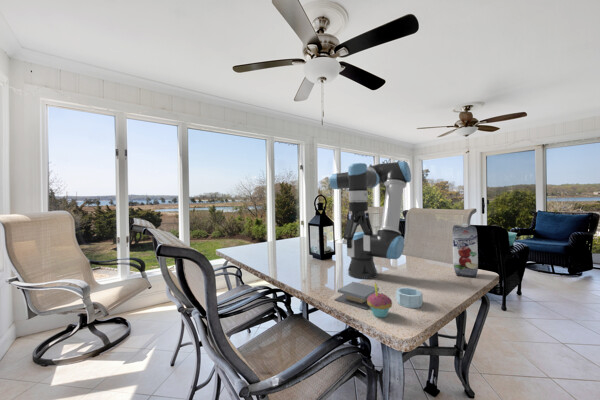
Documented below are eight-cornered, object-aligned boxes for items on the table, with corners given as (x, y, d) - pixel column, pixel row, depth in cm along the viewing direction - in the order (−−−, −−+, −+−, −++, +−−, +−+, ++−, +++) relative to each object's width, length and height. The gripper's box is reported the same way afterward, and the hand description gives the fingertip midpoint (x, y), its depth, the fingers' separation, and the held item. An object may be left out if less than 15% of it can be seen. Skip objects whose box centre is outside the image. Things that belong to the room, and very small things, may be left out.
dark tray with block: (334, 300, 102) (334, 292, 102) (352, 290, 113) (352, 283, 112) (366, 309, 93) (365, 301, 93) (382, 298, 103) (382, 290, 103)
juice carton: (452, 271, 137) (451, 222, 137) (476, 273, 132) (475, 222, 132) (454, 276, 129) (453, 223, 129) (478, 278, 125) (477, 224, 124)
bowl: (393, 303, 98) (392, 292, 97) (401, 296, 104) (401, 286, 104) (417, 310, 91) (417, 298, 91) (425, 302, 98) (424, 291, 98)
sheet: (337, 292, 102) (337, 289, 102) (353, 284, 111) (353, 281, 111) (364, 299, 94) (364, 296, 94) (378, 290, 103) (378, 287, 103)
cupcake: (382, 322, 83) (381, 286, 83) (362, 313, 90) (361, 280, 90) (397, 315, 88) (396, 281, 88) (377, 307, 95) (376, 275, 95)
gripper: (350, 202, 91) (351, 260, 91) (379, 200, 109) (380, 249, 109) (333, 202, 96) (334, 257, 96) (364, 201, 114) (365, 247, 114)
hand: (359, 253), depth 102 cm, fingers open, 13 cm apart
